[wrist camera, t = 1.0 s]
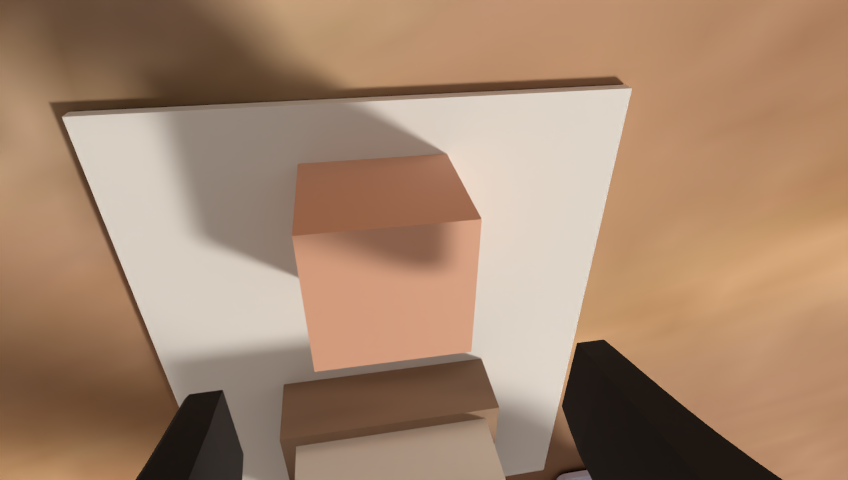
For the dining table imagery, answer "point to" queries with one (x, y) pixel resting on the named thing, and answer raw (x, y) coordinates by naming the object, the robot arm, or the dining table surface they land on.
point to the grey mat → (274, 252)
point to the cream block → (406, 455)
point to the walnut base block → (384, 404)
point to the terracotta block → (385, 259)
